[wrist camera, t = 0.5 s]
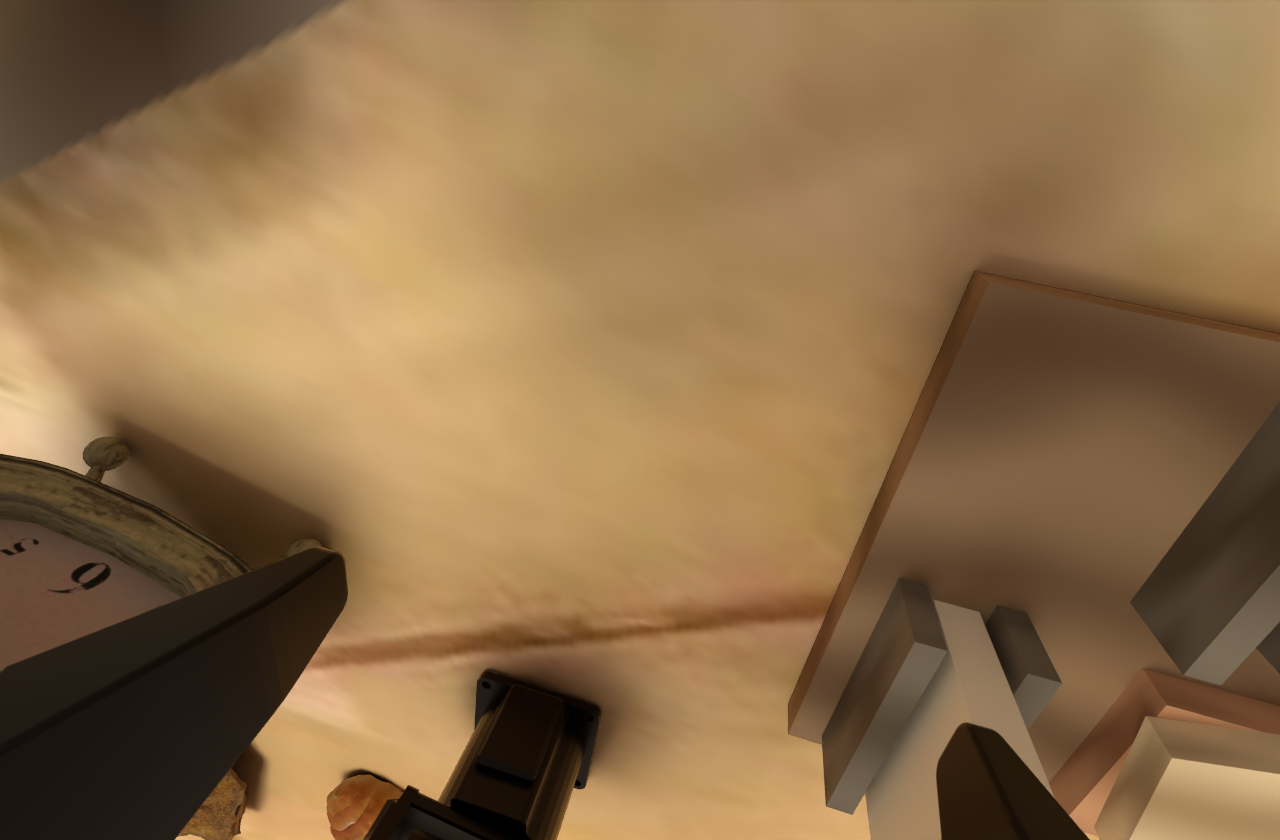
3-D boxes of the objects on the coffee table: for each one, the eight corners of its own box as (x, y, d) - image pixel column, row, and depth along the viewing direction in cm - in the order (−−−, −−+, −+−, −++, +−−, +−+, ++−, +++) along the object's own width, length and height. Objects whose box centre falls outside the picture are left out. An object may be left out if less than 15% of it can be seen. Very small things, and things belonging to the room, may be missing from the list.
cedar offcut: (1178, 826, 23) (1202, 868, 22) (1045, 786, 24) (1060, 824, 23) (1299, 711, 20) (1335, 752, 19) (1142, 668, 21) (1166, 705, 19)
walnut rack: (1187, 825, 25) (1263, 955, 21) (788, 704, 27) (788, 802, 23) (1632, 407, 16) (1916, 499, 12) (974, 271, 18) (1028, 310, 14)
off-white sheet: (897, 750, 25) (959, 1091, 16) (858, 738, 25) (898, 1069, 16) (979, 612, 21) (1118, 956, 12) (933, 599, 21) (1038, 930, 12)
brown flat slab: (320, 794, 41) (180, 629, 37) (276, 856, 38) (116, 681, 33) (213, 816, 45) (75, 669, 41) (163, 875, 41) (6, 719, 37)
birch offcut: (1220, 849, 21) (1248, 895, 20) (1094, 826, 22) (1113, 870, 21) (1292, 736, 19) (1330, 781, 17) (1145, 716, 20) (1171, 757, 18)
